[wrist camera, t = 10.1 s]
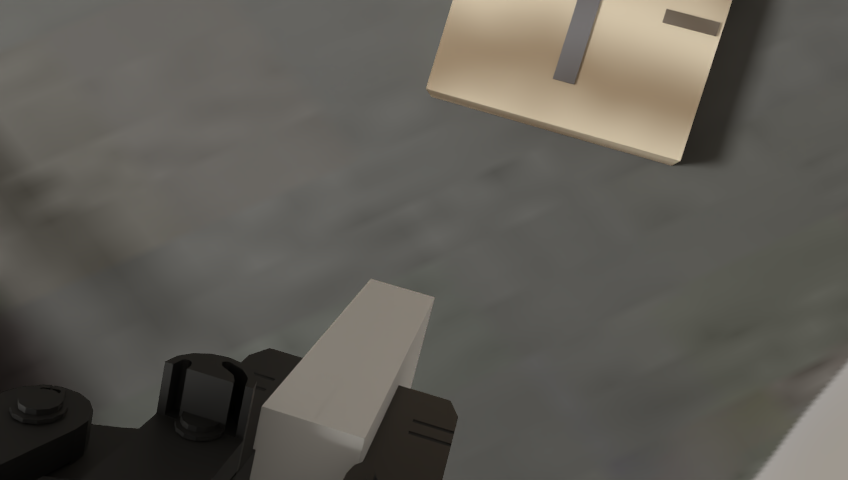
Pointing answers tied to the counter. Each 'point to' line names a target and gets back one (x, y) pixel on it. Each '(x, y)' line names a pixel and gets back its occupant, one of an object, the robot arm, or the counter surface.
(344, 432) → the robot arm
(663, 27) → the fader board
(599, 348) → the counter surface
